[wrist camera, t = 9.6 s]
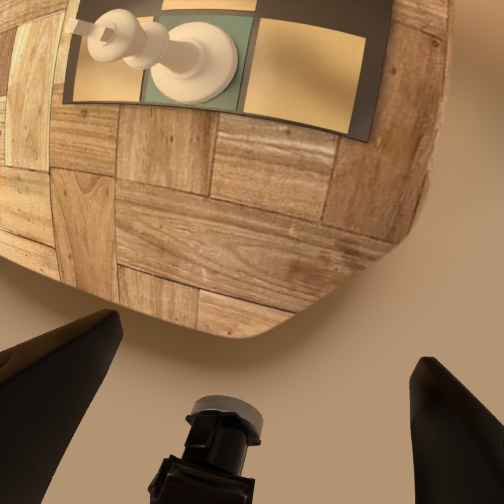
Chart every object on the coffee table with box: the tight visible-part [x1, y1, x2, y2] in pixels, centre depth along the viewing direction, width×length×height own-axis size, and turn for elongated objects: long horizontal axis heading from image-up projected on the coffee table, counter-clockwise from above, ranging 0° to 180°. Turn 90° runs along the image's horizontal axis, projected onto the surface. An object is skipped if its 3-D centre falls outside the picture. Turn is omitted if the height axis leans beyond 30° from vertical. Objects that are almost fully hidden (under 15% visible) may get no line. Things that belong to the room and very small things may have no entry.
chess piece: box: [64, 9, 238, 104], centre depth 10 cm, size 5×5×10 cm
